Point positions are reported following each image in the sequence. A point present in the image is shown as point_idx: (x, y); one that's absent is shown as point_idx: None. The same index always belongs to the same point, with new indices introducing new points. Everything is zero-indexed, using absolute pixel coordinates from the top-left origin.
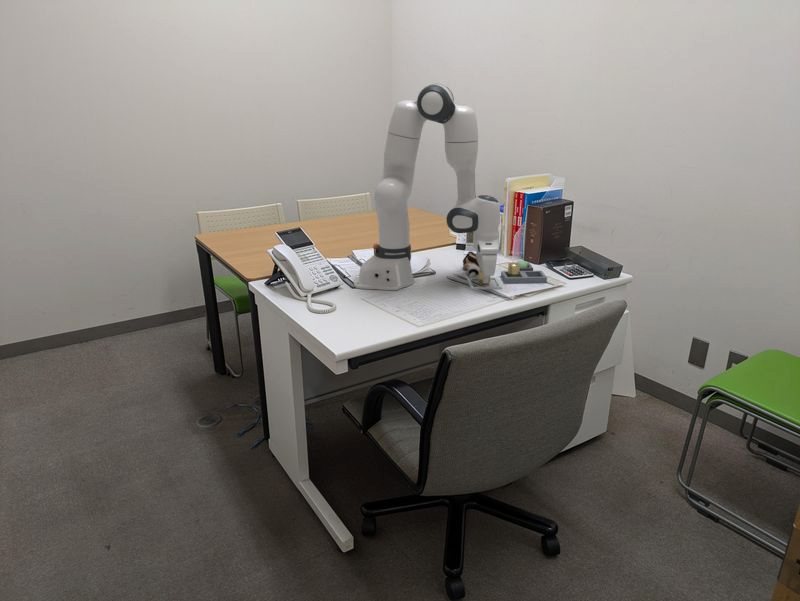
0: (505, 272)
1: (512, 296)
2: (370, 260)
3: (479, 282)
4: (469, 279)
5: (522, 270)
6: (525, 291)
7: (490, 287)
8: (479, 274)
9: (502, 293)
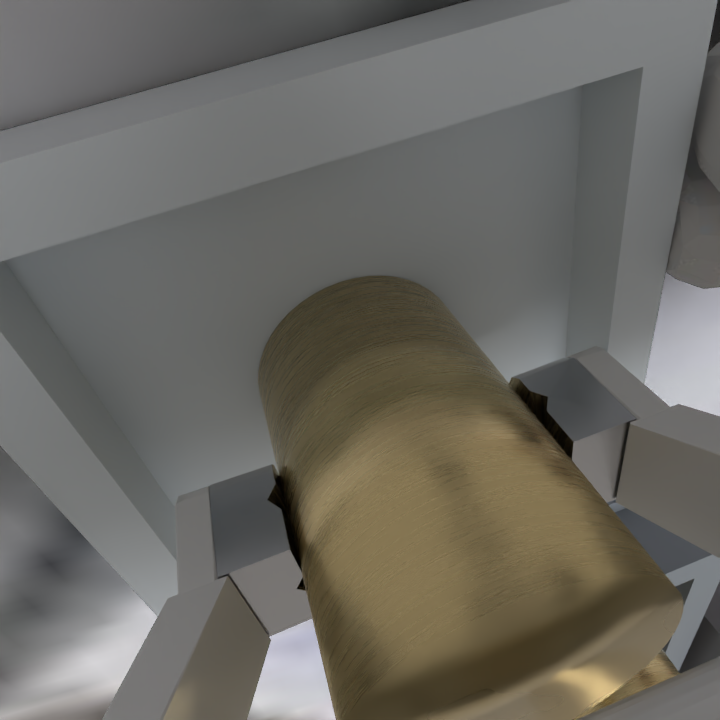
0: (686, 580)
1: (79, 694)
2: None
3: (314, 359)
4: (565, 59)
5: (693, 661)
6: (292, 700)
7: (111, 565)
8: (389, 503)
9: (142, 605)
